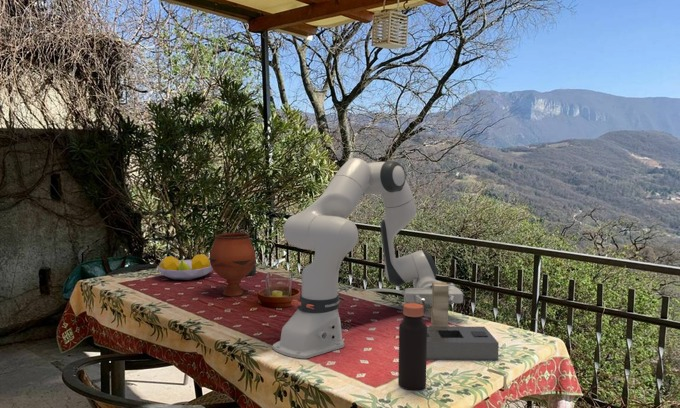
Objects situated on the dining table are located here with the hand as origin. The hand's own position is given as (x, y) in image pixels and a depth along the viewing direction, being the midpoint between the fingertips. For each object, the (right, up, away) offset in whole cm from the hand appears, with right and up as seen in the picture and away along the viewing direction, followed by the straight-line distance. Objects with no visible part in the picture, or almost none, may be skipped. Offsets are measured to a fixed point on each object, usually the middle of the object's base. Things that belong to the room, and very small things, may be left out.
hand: (436, 301), depth 167 cm
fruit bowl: (-106, -3, +73) cm, 129 cm away
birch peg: (0, -9, -4) cm, 10 cm away
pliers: (-34, -6, +42) cm, 54 cm away
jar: (-78, -2, +79) cm, 111 cm away
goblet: (-77, -5, +44) cm, 89 cm away
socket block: (0, -10, -20) cm, 22 cm away
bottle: (-14, -12, -43) cm, 47 cm away
